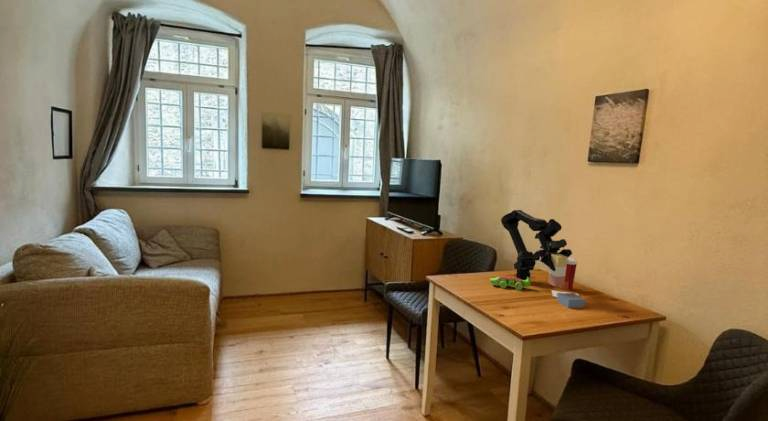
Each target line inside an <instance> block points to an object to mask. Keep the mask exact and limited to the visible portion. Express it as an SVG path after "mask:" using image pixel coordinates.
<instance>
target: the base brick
mask: <svg viewBox="0 0 768 421" xmlns="http://www.w3.org/2000/svg"><path fill="white" fill-rule="evenodd" d="M576 294H577V293H575V294H574V293H573V292H567V293H561V294H558V297H557V302H558V303H559V304H561V305H563V306H564V307H566V308H568V309H572V308H573V309H574V308H576V309H577V308H579V309H580V308H585V305H586V299H585V298H584V297H582V296H580V295H579V294H578V295H579V296H578V295H576Z"/></svg>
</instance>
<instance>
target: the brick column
mask: <svg viewBox="0 0 768 421" xmlns="http://www.w3.org/2000/svg"><path fill="white" fill-rule="evenodd" d="M568 258H569V257H567V256H564V255H562V254H551V260H552V262H553V264H554V267H555V271H553V270H552V269H550V268H549V270H548V271H549V272H548V276H547V277H548V278H547V284H549V285H552V286H553V287H559V286H564V281H565V274H566V266H567V259H568Z"/></svg>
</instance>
